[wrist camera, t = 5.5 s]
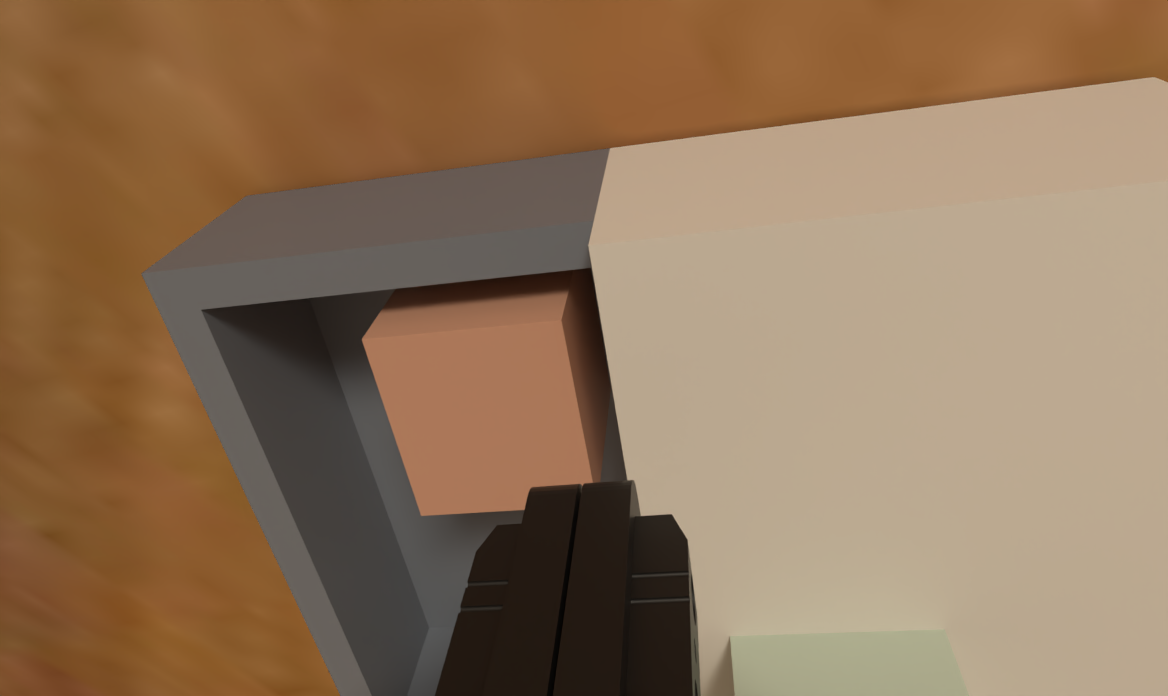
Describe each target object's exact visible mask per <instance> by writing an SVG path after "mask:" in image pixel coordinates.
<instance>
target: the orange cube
mask: <svg viewBox="0 0 1168 696" xmlns="http://www.w3.org/2000/svg"><path fill="white" fill-rule="evenodd" d="M362 342H363V345H364V348H365V351H366V354H367V357H368V360H369V363H370V366H371V369H372V371H373V374H374V377H375V380H376V383H377V386H378V389H379V392H380V395H381V398H382V401H383V404H384V407H385V410H386V413H387V416H388V419H389V422H390V425H391V428H392V431H393V434H394V437H395V440H396V443H397V446H398V448H399V451H400V454H401V457H402V460H403V463H404V466H405V469H406V472H407V475H408V478H409V481H410V484H411V487H412V490H413V493H414V496H415V499H416V502H417V505H418V508H419V511H420V514H421V516H429V515H446V514H463V513H480V512H497V511H514V510H525V505H526V501H527V497H528V493H529V490H530V489H531V487H540V486H555V485H569V484H581V485H582V486H583V484H584V483H596V482H600V479H601V470H602V461H603V453H604V444H605V435H606V427H607V418H608V409H609V401H610V392H611V388H610V382H609V376H608V370H607V364H606V358H605V352H604V346H603V340H602V334H601V328H600V322H599V316H598V310H597V304H596V298H595V292H594V287H593V281H592V275H591V269H590V268H585V269H575V270H566V271H557V272H547V273H538V274H529V275H520V276H510V277H501V278H492V279H482V280H473V281H464V282H454V283H445V284H436V285H426V286H417V287H408V288H398V289H395V291H394V292H393V294H392V295H391V297H390V298H389V300H388V301H387V303H386V304H385V306H384V307H383V308H382V310H381V311H380V313H379V314H378V316H377V317H376V319H375V320H374V322H373V323H372V325H371V326H370V328H369V329H368V331H367V332H366V334H365V335H364V337H363V338H362Z"/></svg>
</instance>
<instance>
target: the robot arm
mask: <svg viewBox="0 0 1168 696" xmlns="http://www.w3.org/2000/svg"><path fill="white" fill-rule="evenodd" d="M467 583H468V587H467V588H465V592H464V595H463V599H462V602H461V606H460V608H461V611H460V613H458V616H457V620H456V623H455V627H454V630H453V634H452V637H451V641H450V644H449V648H448V651H447V655H446V658H445V662H444V665H443V669H442V672H441V676H440V679H439V683H438V686H437V690H436V693H435V696H701V690H700V667H699V649H698V648H699V643H698V620H697V609H696V602H695V594H694V586H693V578H692V570H691V562H690V555H689V547H688V540H687V538H686V536H685V535H684V533H683V531H682V530H681V528H680V527H679V525H678V523H677V522H676V520H675V519H674V517H673V515H672V514H666V515H650V516H641V514H640V508H639V502H638V495H637V490H636V485H635V482H634V480H625V481H611V482H596V483H584V484H583V486H582V485H581V484H569V485H555V486H540V487H531V489H530V490H529V493H528V497H527V501H526V505H525V510H524V514H523V519H522V523H521V524H504V525H497V526H496V527H495V528H494V530H493V531H492V532H491V533H490V535H489V536H488V537H487V538H486V540H485V541H484V542H483V543H482V545H481V546H480V547H479V548H478V550H477V551H476V553H475V556H474V560H473V563H472V567H471V571H470V574H469V578H468V581H467Z"/></svg>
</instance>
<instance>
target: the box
mask: <svg viewBox="0 0 1168 696" xmlns="http://www.w3.org/2000/svg"><path fill="white" fill-rule="evenodd" d="M609 151H610V148H609V149H601V150H594V151H586V152H578V153H571V154H563V155H555V156H548V157H540V158H533V159H525V160H517V161H510V162H502V163H494V164H487V165H479V166H471V167H464V168H456V169H448V170H441V171H433V172H426V173H418V174H410V175H403V176H395V177H387V178H380V179H372V180H364V181H357V182H349V183H341V184H334V185H326V186H319V187H311V188H303V189H296V190H288V191H280V192H273V193H265V194H257V195H250V196H246V197H244V198H243V199H242V200H240V201H239V202H238V203H236V204H235V205H233V206H232V207H231V208H229V209H228V210H227V211H225V212H224V213H223V214H221V215H220V216H219V217H217V218H216V219H215V220H213V221H212V222H210V223H209V224H208V225H206V226H205V227H204V228H202V229H201V230H200V231H198V232H197V233H196V234H194V235H193V236H191V237H190V238H189V239H187V240H186V241H185V242H183V243H182V244H181V245H179V246H178V247H177V248H175V249H174V250H173V251H171V252H170V253H168V254H167V255H166V256H164V257H163V258H162V259H160V260H159V261H158V262H156V263H155V264H154V265H152V266H151V267H150V268H148V269H147V270H145V271H144V272H143V273H141V274H142V276H143V278H144V280H145V282H146V285H147V287H148V289H149V291H150V293H151V295H152V297H153V299H154V301H155V304H156V306H157V308H158V310H159V312H160V314H161V316H162V318H163V321H164V323H165V325H166V327H167V329H168V331H169V333H170V335H171V338H172V340H173V342H174V344H175V346H176V348H177V350H178V352H179V354H180V357H181V359H182V361H183V363H184V365H185V367H186V369H187V371H188V374H189V376H190V378H191V380H192V382H193V384H194V386H195V388H196V390H197V393H198V395H199V397H200V399H201V401H202V403H203V405H204V407H205V410H206V412H207V414H208V416H209V418H210V420H211V422H212V424H213V427H214V429H215V431H216V433H217V435H218V437H219V439H220V441H221V443H222V446H223V448H224V450H225V452H226V454H227V456H228V458H229V460H230V463H231V465H232V467H233V469H234V471H235V473H236V475H237V477H238V479H239V482H240V484H241V486H242V488H243V490H244V492H245V494H246V496H247V499H248V501H249V503H250V505H251V507H252V509H253V511H254V513H255V516H256V518H257V520H258V522H259V524H260V526H261V528H262V530H263V532H264V535H265V537H266V539H267V541H268V543H269V545H270V547H271V549H272V552H273V554H274V556H275V558H276V560H277V562H278V564H279V566H280V568H281V571H282V573H283V575H284V577H285V579H286V581H287V583H288V585H289V588H290V590H291V592H292V594H293V596H294V598H295V600H296V602H297V605H298V607H299V609H300V611H301V613H302V615H303V617H304V619H305V621H306V624H307V626H308V628H309V630H310V632H311V634H312V636H313V638H314V641H315V643H316V645H317V647H318V649H319V651H320V653H321V655H322V657H323V660H324V662H325V664H326V666H327V668H328V670H329V672H330V674H331V677H332V679H333V681H334V683H335V685H336V687H337V689H338V691H339V694H340V696H435V693H436V690H437V686H438V683H439V679H440V676H441V672H442V669H443V665H444V662H445V658H446V655H447V651H448V648H449V644H450V641H451V637H452V634H453V630H454V627H455V623H456V620H457V616H458V613H460V611H461V608H460V606H461V602H462V599H463V595H464V592H465V588H467V587H468V583H467V581H468V578H469V574H470V571H471V567H472V563H473V560H474V556H475V553H476V551H477V550H478V548H479V547H480V546H481V545H482V543H483V542H484V541H485V540H486V538H487V537H488V536H489V535H490V533H491V532H492V531H493V530H494V528H495V527H496V526H497V525H504V524H521V523H522V519H523V514H524V510H514V511H497V512H480V513H463V514H446V515H429V516H421V514H420V511H419V508H418V505H417V502H416V499H415V496H414V493H413V490H412V487H411V484H410V481H409V478H408V475H407V472H406V469H405V466H404V463H403V460H402V457H401V454H400V451H399V448H398V446H397V443H396V440H395V437H394V434H393V431H392V428H391V425H390V422H389V419H388V416H387V413H386V410H385V407H384V404H383V401H382V398H381V395H380V392H379V389H378V386H377V383H376V380H375V377H374V374H373V371H372V369H371V366H370V363H369V360H368V357H367V354H366V351H365V348H364V345H363V342H362V338H363V337H364V335H365V334H366V332H367V331H368V329H369V328H370V326H371V325H372V323H373V322H374V320H375V319H376V317H377V316H378V314H379V313H380V311H381V310H382V308H383V307H384V306H385V304H386V303H387V301H388V300H389V298H390V297H391V295H392V294H393V292H394V291H395V289H398V288H408V287H417V286H426V285H436V284H445V283H454V282H464V281H473V280H482V279H492V278H501V277H510V276H520V275H529V274H538V273H547V272H557V271H566V270H575V269H585V268H590V269H591V275H592V281H593V287H594V292H595V298H596V304H597V310H598V316H599V322H600V328H601V334H602V340H603V346H604V352H605V358H606V364H607V370H608V376H609V382H610V388H611V392H610V401H609V409H608V418H607V427H606V435H605V444H604V453H603V461H602V470H601V479H600V482H611V481H625V480H627V475H626V469H625V463H624V457H623V451H622V445H621V439H620V433H619V427H618V421H617V415H616V409H615V403H614V397H613V391H612V385H611V379H610V373H609V367H608V361H607V355H606V349H605V343H604V337H603V331H602V325H601V319H600V313H599V307H598V301H597V295H596V289H595V283H594V277H593V271H592V265H591V259H590V253H589V247H588V244H589V240H590V235H591V231H592V227H593V222H594V218H595V213H596V209H597V204H598V200H599V195H600V191H601V186H602V182H603V177H604V173H605V169H606V164H607V160H608V155H609Z"/></svg>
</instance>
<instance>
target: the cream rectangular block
mask: <svg viewBox="0 0 1168 696" xmlns="http://www.w3.org/2000/svg"><path fill="white" fill-rule="evenodd" d="M588 247H589V253H590V259H591V265H592V271H593V277H594V283H595V289H596V295H597V301H598V307H599V313H600V319H601V325H602V331H603V337H604V343H605V349H606V355H607V361H608V367H609V373H610V379H611V385H612V391H613V397H614V403H615V409H616V415H617V421H618V427H619V433H620V439H621V445H622V451H623V457H624V463H625V469H626V475H627V480H634V482H635V485H636V490H637V495H638V502H639V508H640V514H641V516H650V515H666V514H672V515H673V517H674V519H675V520H676V522H677V523H678V525H679V527H680V528H681V530H682V531H683V533H684V535H685V536H686V538H687V540H688V547H689V555H690V562H691V570H692V578H693V586H694V594H695V602H696V609H697V620H698V643H699V648H698V649H699V667H700V690H701V696H735V692H734V680H733V668H732V655H731V643H730V636H754V635H785V634H817V633H848V632H879V631H911V630H942V629H945V631H946V634H947V637H948V639H949V642H950V645H951V648H952V650H953V653H954V656H955V658H956V661H957V664H958V667H959V669H960V672H961V675H962V677H963V680H964V683H965V685H966V688H967V691H968V694H969V696H1168V82H1165V81H1163V80H1160V79H1158V78H1155V77H1152V78H1144V79H1136V80H1129V81H1121V82H1113V83H1106V84H1098V85H1090V86H1083V87H1075V88H1067V89H1060V90H1052V91H1045V92H1037V93H1029V94H1022V95H1014V96H1006V97H999V98H991V99H983V100H976V101H968V102H960V103H953V104H945V105H938V106H930V107H922V108H915V109H907V110H899V111H892V112H884V113H876V114H869V115H861V116H853V117H846V118H838V119H831V120H823V121H815V122H808V123H800V124H792V125H785V126H777V127H769V128H762V129H754V130H747V131H739V132H731V133H724V134H716V135H708V136H701V137H693V138H685V139H678V140H670V141H662V142H655V143H647V144H640V145H632V146H624V147H617V148H610V151H609V155H608V160H607V164H606V169H605V173H604V177H603V182H602V186H601V191H600V195H599V200H598V204H597V209H596V213H595V218H594V222H593V227H592V231H591V235H590V240H589V244H588Z"/></svg>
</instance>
